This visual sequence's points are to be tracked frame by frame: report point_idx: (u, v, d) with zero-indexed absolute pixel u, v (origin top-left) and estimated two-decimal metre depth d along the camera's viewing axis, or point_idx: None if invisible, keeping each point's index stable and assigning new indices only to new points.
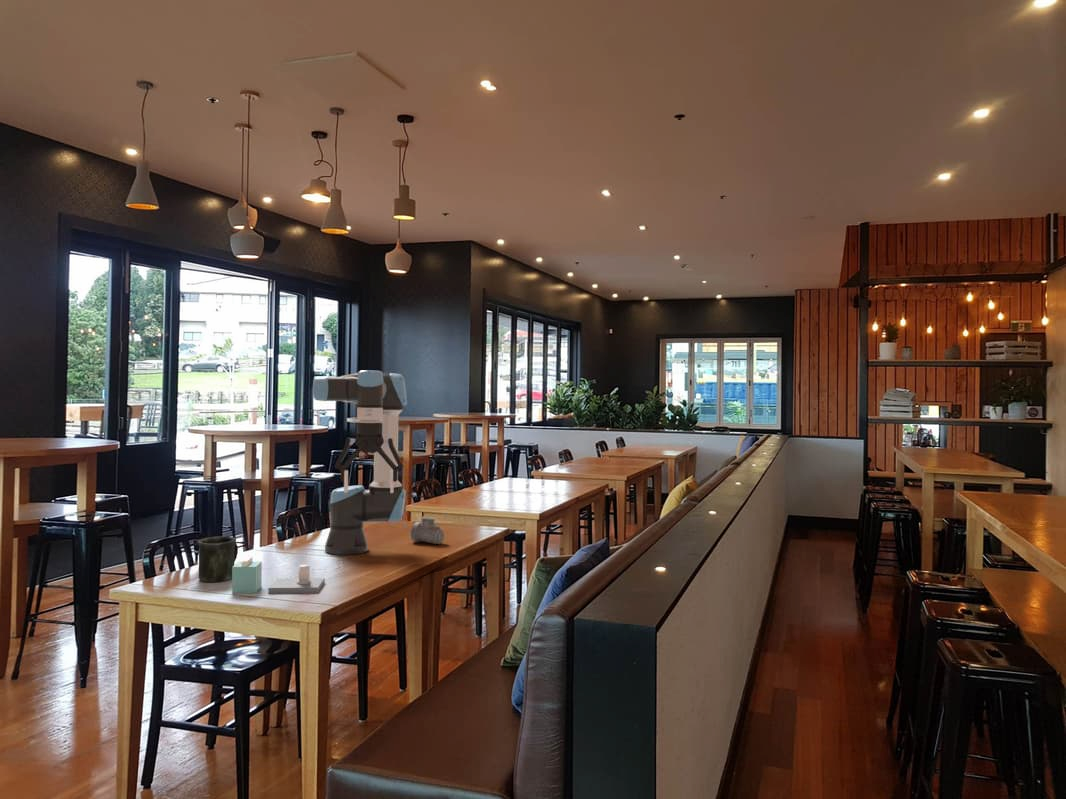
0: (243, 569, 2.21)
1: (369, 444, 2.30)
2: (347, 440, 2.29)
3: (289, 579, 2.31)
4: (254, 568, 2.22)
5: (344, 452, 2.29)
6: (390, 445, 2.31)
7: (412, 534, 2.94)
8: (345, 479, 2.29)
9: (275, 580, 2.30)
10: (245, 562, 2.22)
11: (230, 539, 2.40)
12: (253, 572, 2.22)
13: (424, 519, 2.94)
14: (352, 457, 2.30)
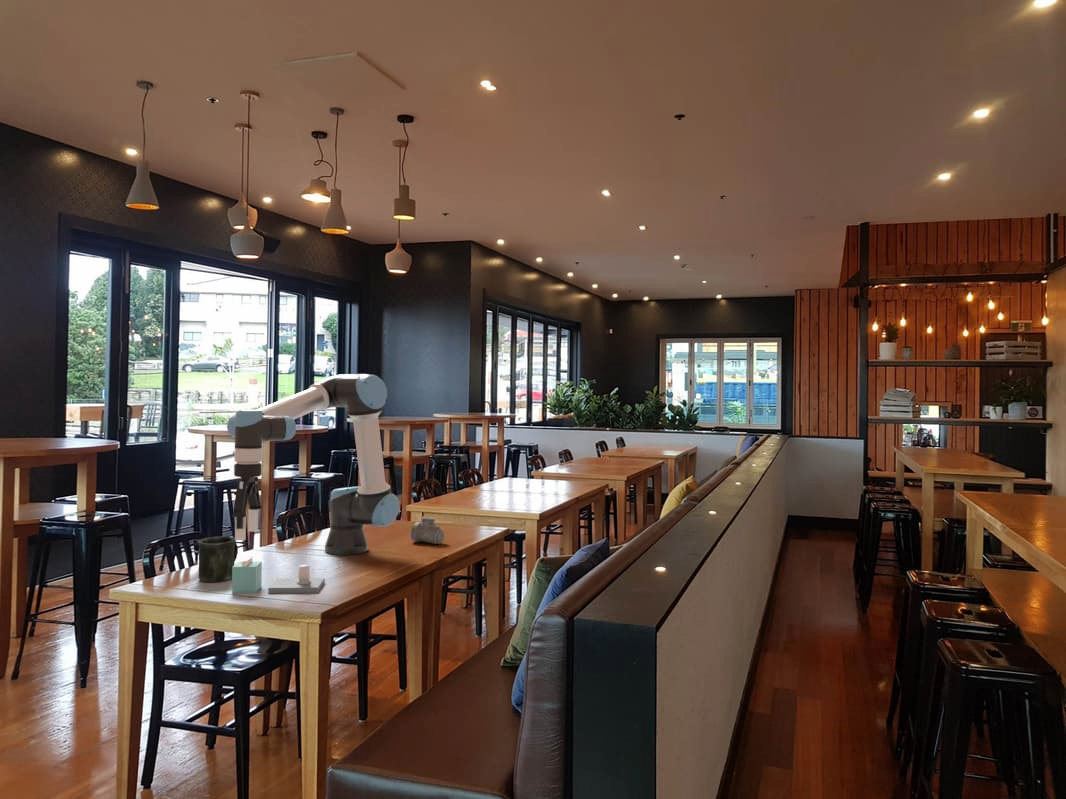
0: (243, 569, 2.21)
1: None
2: None
3: (289, 579, 2.31)
4: (254, 568, 2.22)
5: None
6: None
7: (412, 534, 2.94)
8: None
9: (275, 580, 2.30)
10: (245, 562, 2.22)
11: (230, 539, 2.40)
12: (253, 572, 2.22)
13: (424, 519, 2.94)
14: None
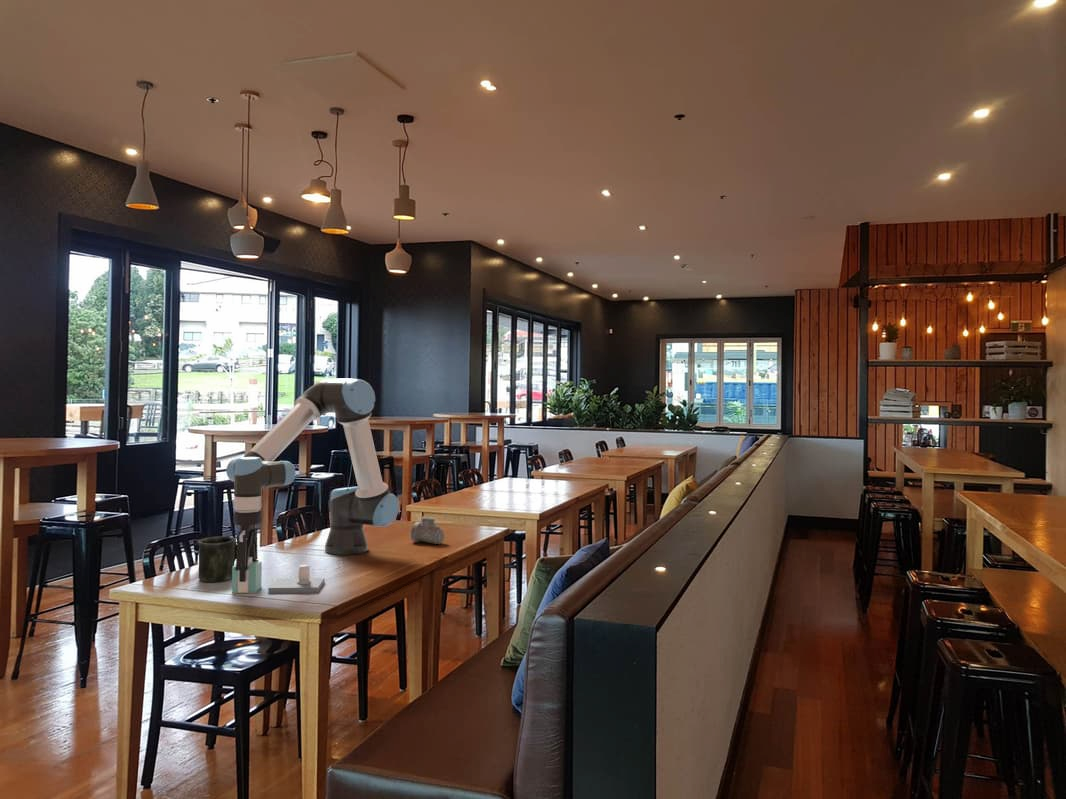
0: None
1: None
2: None
3: (289, 579, 2.31)
4: (254, 568, 2.22)
5: None
6: None
7: (412, 534, 2.94)
8: None
9: (275, 580, 2.30)
10: None
11: (230, 539, 2.40)
12: (253, 572, 2.22)
13: (424, 519, 2.94)
14: None
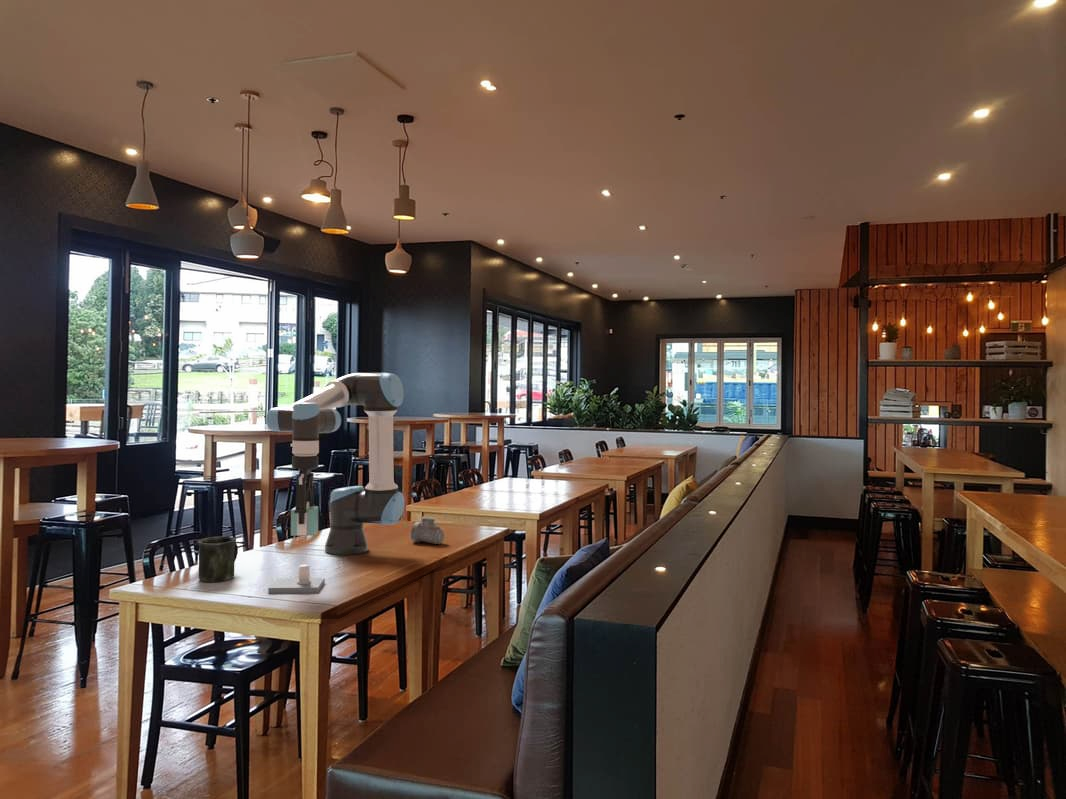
0: None
1: None
2: None
3: (289, 579, 2.31)
4: (312, 511, 2.24)
5: None
6: None
7: (412, 534, 2.94)
8: None
9: (275, 580, 2.30)
10: None
11: (230, 539, 2.40)
12: (311, 515, 2.24)
13: (424, 519, 2.94)
14: None
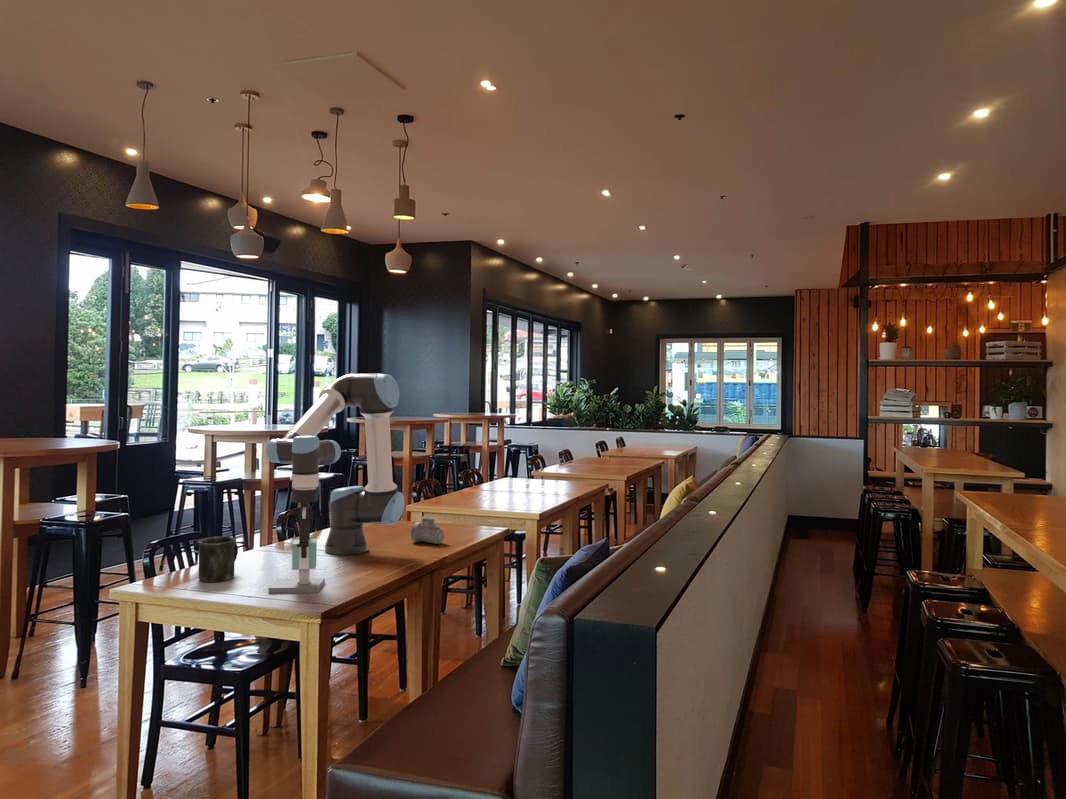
0: None
1: None
2: None
3: (289, 579, 2.31)
4: (314, 545, 2.25)
5: None
6: (299, 518, 2.22)
7: (412, 534, 2.94)
8: None
9: (275, 580, 2.30)
10: None
11: (230, 539, 2.40)
12: (313, 548, 2.25)
13: (424, 519, 2.94)
14: None
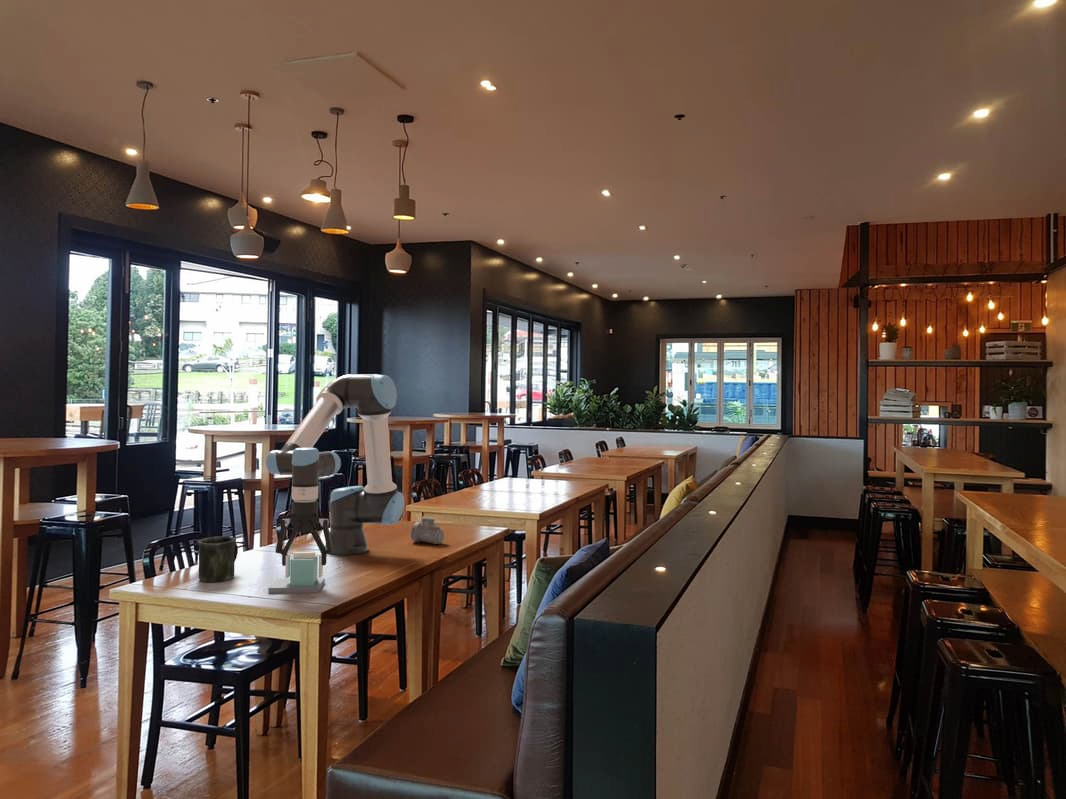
0: (315, 560, 2.28)
1: (304, 523, 2.26)
2: (281, 522, 2.26)
3: (289, 579, 2.31)
4: (317, 556, 2.31)
5: (282, 535, 2.26)
6: (324, 527, 2.27)
7: (412, 534, 2.94)
8: (286, 564, 2.26)
9: (275, 580, 2.30)
10: (314, 553, 2.28)
11: (230, 539, 2.40)
12: (317, 560, 2.31)
13: (424, 519, 2.94)
14: (290, 539, 2.26)
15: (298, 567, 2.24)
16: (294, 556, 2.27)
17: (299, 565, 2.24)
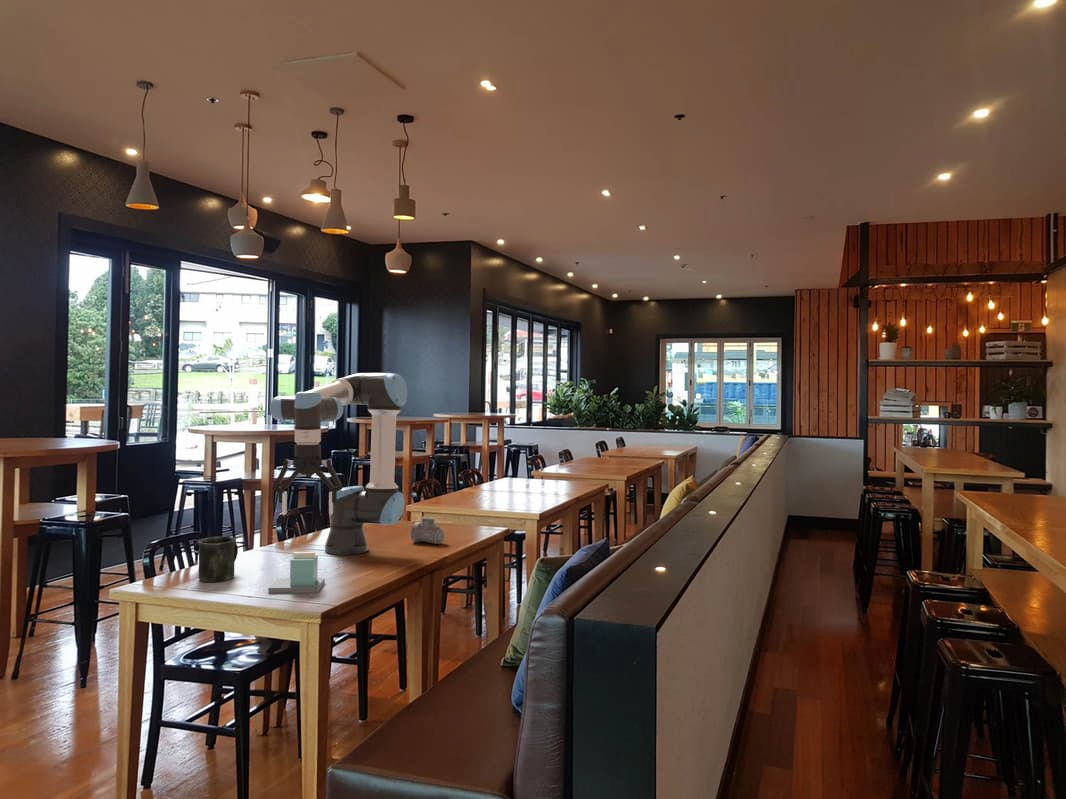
0: (315, 560, 2.28)
1: (307, 466, 2.29)
2: (285, 462, 2.28)
3: (289, 579, 2.31)
4: (317, 556, 2.31)
5: (282, 474, 2.28)
6: (328, 466, 2.30)
7: (412, 534, 2.94)
8: (283, 501, 2.29)
9: (275, 580, 2.30)
10: (314, 553, 2.28)
11: (230, 539, 2.40)
12: (317, 560, 2.31)
13: (424, 519, 2.94)
14: (290, 479, 2.29)
15: (298, 567, 2.24)
16: (294, 556, 2.27)
17: (299, 565, 2.24)
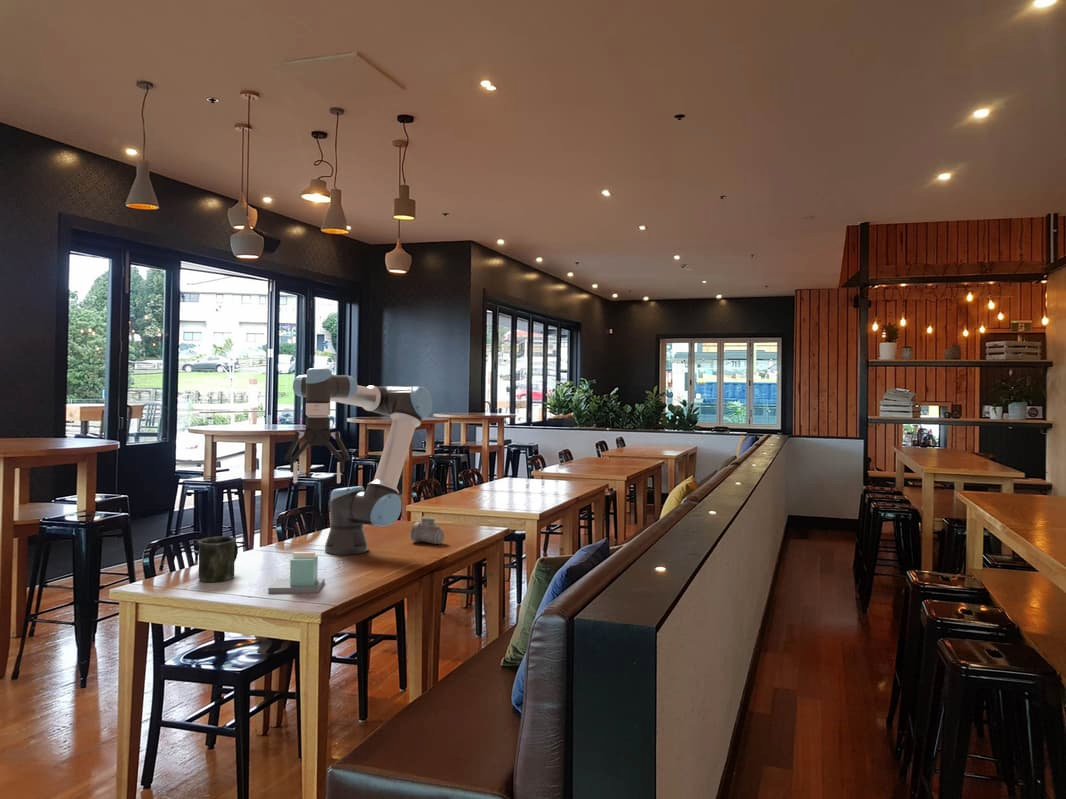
0: (315, 560, 2.28)
1: (317, 437, 2.45)
2: (296, 434, 2.45)
3: (289, 579, 2.31)
4: (317, 556, 2.31)
5: (293, 445, 2.45)
6: (337, 438, 2.46)
7: (412, 534, 2.94)
8: (294, 470, 2.45)
9: (275, 580, 2.30)
10: (314, 553, 2.28)
11: (230, 539, 2.40)
12: (317, 560, 2.31)
13: (424, 519, 2.94)
14: (301, 449, 2.45)
15: (298, 567, 2.24)
16: (294, 556, 2.27)
17: (299, 565, 2.24)
